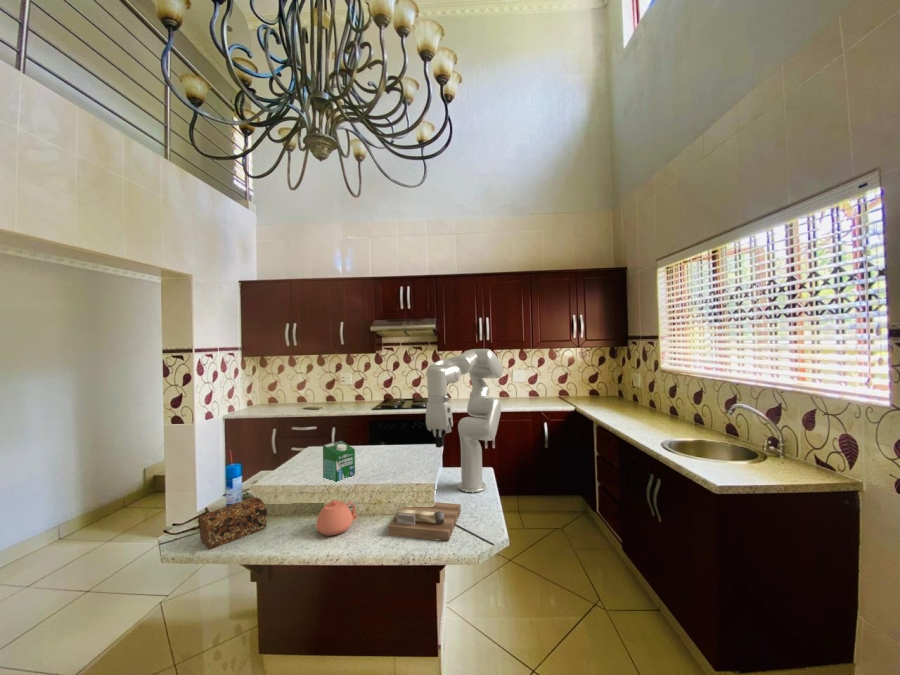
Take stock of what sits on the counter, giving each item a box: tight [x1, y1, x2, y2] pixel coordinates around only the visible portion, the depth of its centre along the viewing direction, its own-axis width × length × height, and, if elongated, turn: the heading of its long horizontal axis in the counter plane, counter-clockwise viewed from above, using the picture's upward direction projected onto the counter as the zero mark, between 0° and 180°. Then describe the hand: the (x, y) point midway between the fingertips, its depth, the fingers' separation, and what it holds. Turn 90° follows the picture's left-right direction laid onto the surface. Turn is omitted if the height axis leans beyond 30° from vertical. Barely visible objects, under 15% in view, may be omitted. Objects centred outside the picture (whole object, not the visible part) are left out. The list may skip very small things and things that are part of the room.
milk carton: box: [322, 440, 356, 482], centre depth 144 cm, size 9×9×25 cm
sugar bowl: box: [315, 500, 358, 536], centre depth 125 cm, size 12×14×10 cm
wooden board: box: [387, 501, 462, 542], centre depth 128 cm, size 21×21×6 cm
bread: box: [198, 497, 268, 550], centre depth 123 cm, size 19×11×10 cm, turn 138°
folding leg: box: [396, 508, 444, 524], centre depth 124 cm, size 17×3×3 cm, turn 77°
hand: (439, 446), depth 136 cm, fingers closed
